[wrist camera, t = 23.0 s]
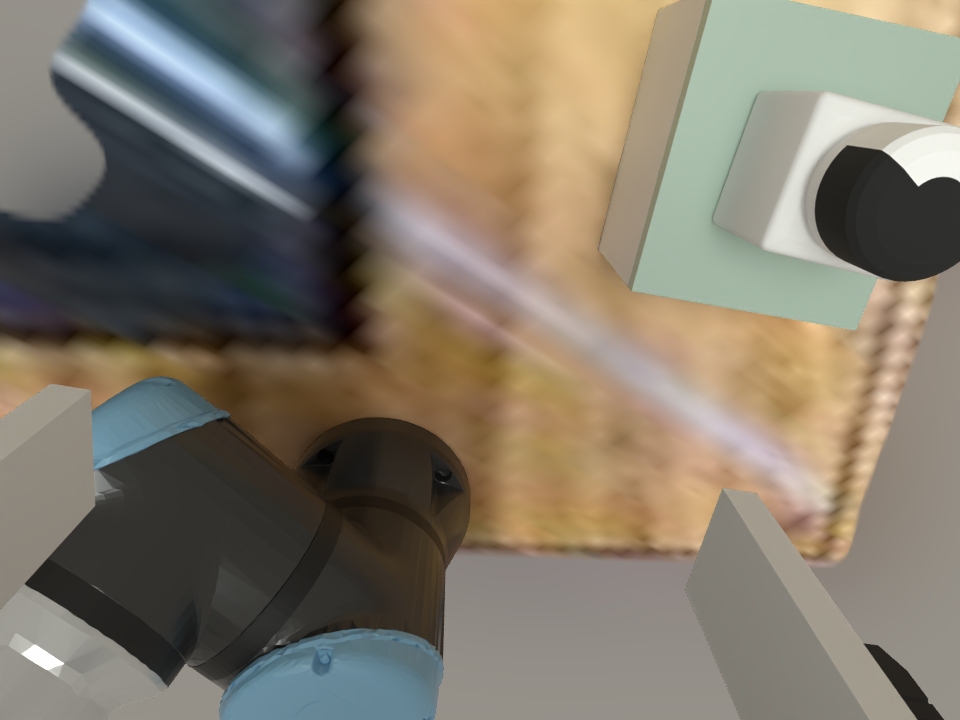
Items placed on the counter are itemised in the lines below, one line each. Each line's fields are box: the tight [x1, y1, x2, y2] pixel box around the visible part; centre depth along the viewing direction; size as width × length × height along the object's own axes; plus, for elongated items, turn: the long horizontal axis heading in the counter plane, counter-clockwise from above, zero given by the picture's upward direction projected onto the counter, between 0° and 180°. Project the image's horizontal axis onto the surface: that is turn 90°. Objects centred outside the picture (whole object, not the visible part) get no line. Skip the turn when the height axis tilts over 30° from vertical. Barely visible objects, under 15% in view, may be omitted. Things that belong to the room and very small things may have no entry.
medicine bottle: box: [713, 91, 960, 282], centre depth 31 cm, size 7×7×12 cm
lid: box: [628, 0, 960, 330], centre depth 37 cm, size 16×14×1 cm
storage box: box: [598, 0, 706, 286], centre depth 42 cm, size 16×14×10 cm
